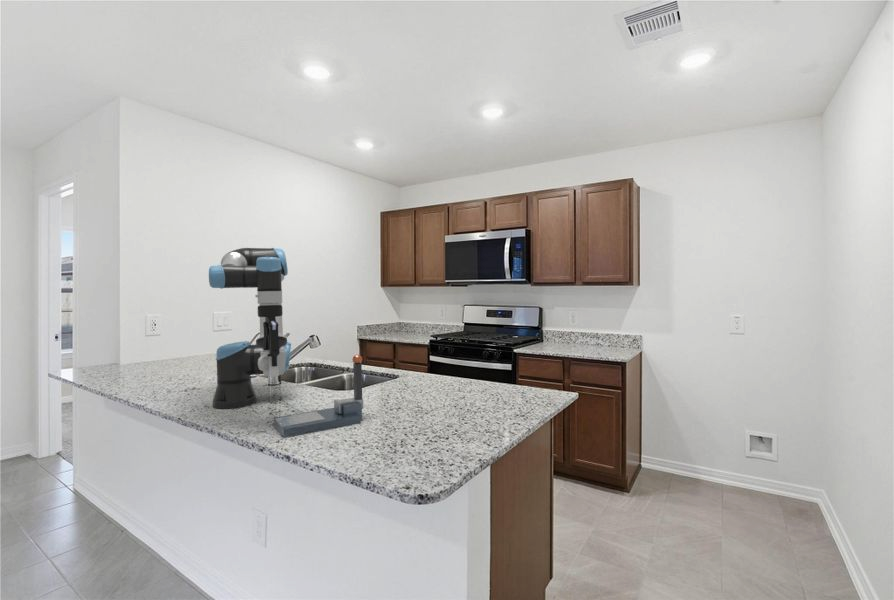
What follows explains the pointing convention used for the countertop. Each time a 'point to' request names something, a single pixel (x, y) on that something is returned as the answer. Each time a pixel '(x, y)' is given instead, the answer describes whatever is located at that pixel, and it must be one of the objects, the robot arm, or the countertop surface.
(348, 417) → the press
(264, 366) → the cup
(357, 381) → the lever
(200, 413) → the countertop surface
